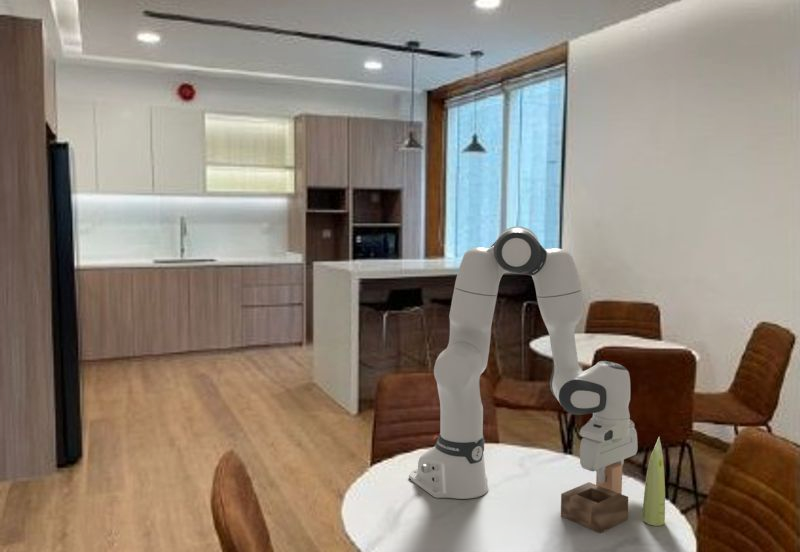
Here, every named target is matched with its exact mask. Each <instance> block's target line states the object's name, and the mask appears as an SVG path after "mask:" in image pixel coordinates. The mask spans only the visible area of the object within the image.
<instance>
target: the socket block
mask: <svg viewBox="0 0 800 552" xmlns="http://www.w3.org/2000/svg"><path fill="white" fill-rule="evenodd" d="M560 494H561V495H560V499H561V500H560V517H562V518H565V519H567V520H570V521H571V522H573V523H576V524H579V525H581V526H584V527H586V528H588V529H590V530H592V531H594V532H597V533H599V534H602V533H604V532H606V531H608V530H610V529H611V528H613V527H615V526H617V525H619V524H621V523H623V522H626V521H627V520H628V519H629V518H628V517H629V496H627V495H625V494H619V493H617V492H614V491H611V490H609V489H606V488H603V487H601V486H598V485H596V483H592V482H586V483H584V484H581V485H579V486H576V487H573V488H572V489H569V490H567V491H564V492H562V493H560Z"/></svg>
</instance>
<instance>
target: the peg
mask: <svg viewBox="0 0 800 552" xmlns="http://www.w3.org/2000/svg"><path fill="white" fill-rule="evenodd" d="M623 466H624V464H623V465H622V464H619V463H613V464H611V465H608V466H606V467H605V470H604V473H605V475H607V482H605V483H600V482H598V475H597V473H596V472H595V473H596V475H595V476H596V478H595V479H596V480H595V485H598V486H601V487H603V488H606V489H609V490H611V491H614V492H617V493H619V494H622V493H623V492H622V491H623V489H622V488H623ZM622 495H623V494H622Z"/></svg>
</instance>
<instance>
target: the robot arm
mask: <svg viewBox="0 0 800 552" xmlns="http://www.w3.org/2000/svg"><path fill="white" fill-rule="evenodd" d="M499 234H500V235H499V236H498V237H497V239H496V240H495V242H493V244H492V245H491V246H490V247H479V246H478V247H477V246H476V247H472V248H470V249H468V250H467V251H466V252H465V253H464V255H463V257H462V259H461V262H460V264H459V268H458V270H457V275H456V278H455V283H454V289H453V292H452V293H453V294H452V298H451V303H450V304H451V305H450V310H449V316H448V318H449V319H448V320H449V339H448V344H447V347H446V348H445V349H444V350H442V351H441V352H440V353H439V355H438V356H437V357H436V360H435V362H434V363H435V364H434V368H433V375H434V379H435V381H436V385H437V386H436V387H437V392H438V393H437V394H438V397H439V404H440V405H439V406H440V420H439V421H440V425H439V426H440V432H439V433H436V434H435V435H434V434H433V435H432V436H433V437H434V438H433V439H432V440H436V442H435V445H434V446H433V447H431V448H430V449H428V450H427V451H425V453H422V454H421V456H420V457H419V459H418V461H417V469H415V470H413V471H411V472H410V473H409V474H408V479H409V478H410V479H411V480H410V479H409V480H410V481H411V482H413V483H415V484H416V485H417V486H418V487H420V488H421V489H422V490H424V491H426V493H428V494H429V495H431V496H432V497H433V498H437V499H438V498H439V499H442V498H443V499H445V498H449V499H460V500H462V499H463V500H465V499H467V500H469V499H474V498H479V497H481V496H483V495H486V493H487V492H488V491H489V486H488V476H487V475H486V466H485V454H484V452H485V436H484V434H483V430H484V429H483V426H484V425H483V424H484V423H483V421H484V407H483V406H484V405H483V403H482V399H481V391H480V378H481V375H482V373H484V372H485V370H486V369H487V367H488V361H489V355H490V346H491V337H492V323H493V319H494V314H495V313H494V312H495V308H496V303H497V297H498V292H499V285H500V281H501V279H502V277H503V275H504V274H505V273H506V272H508V273H511V274H514V275H515V274H516V275H525V276H531V277H532V280H533V283H534V284H533V285H534V288H535V293H536V294H535V295H536V301H537V304H538V308H539V311H540V315H541V318H542V320H543V323H544V325H545V327H546V329H547V332H548V336H549V341H550V347H551V353H552V354H551V355H552V360H553V367H552V371H551V372H552V373H551V376H550V379H549V386H550V391H551V393H552V395H553V396H554V398H556V400H557V401H558V402H559V404H560V406H561V407H562V409H563V410H564V411H566V412H567V413H569V414H571V415H577V416H581V415H589V414H592V417H591V418H590V419H589V420H588V421H587V422H586V424H584V425H582V427H581V428H580V431H579V432H580V436H581V437H582V438H581V441H580V446H579V447H580V448H579V463H580V467H581V468H582V469H583V470H587V471H589V472H595V473H597V475H598V482H600V483H605V482H607V475H605V473H604V470H605V467H606V466H608V465H611V464H613V463H619V464H622V465H623V466H624V463H625V460H626V459H628V458H630V457H633V456H635V455H636V454H637V452H638V432H637V429H636V428H635V422H634V421H633V420H632V419H630V418H631V415H630V410H629V404H630V402H631V378H630V372H629V370H628V369H627V368H626V367H625V366H623V365H622V364H620V363H617V362H613V361H607V360H600V361H598V362H596V364H595V365H593V366H591V367H589V368H588V369H586V370H583V369H582V367H581V365H580V363H579V360H578V359H579V358H578V352H577V346H576V338H575V331H576V327H577V325H578V323H579V322H580V321H581V319H582V318H583V315H584V300H583V299H584V297H583V291H582V285H581V281H580V277H579V272H578V270H577V266H576V264H575V260H574V258H573V256H572V254H571V253H570V252H569V251H567V250H566V249H563V248H559V247H558V248H557V247H555V248H544V246H543V245H541V243H540V241H539V239H538V237H537V235H536V234H535V233H534V232H533V231H531V230H530V229H529V228H527V227H523V226H512V227H509V228H506V229H505V230H504V231H503V232H501V233H499Z"/></svg>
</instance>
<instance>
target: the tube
mask: <svg viewBox="0 0 800 552" xmlns="http://www.w3.org/2000/svg"><path fill="white" fill-rule="evenodd" d="M662 448H663V447H662V443H661V439H660V437H658V438H657V441H656V443H655V445H654V448H653V450H652V452H651V455H650V458H649V462H648V467H647V471H646V475H645V482H644V483H645V485H644V493H643V504H642V519H641V520H642V521H643V522H644V523H646V524H648V525H651V526H654V527H658V526H659V527H660V526H663V525H664V524H665V523H666V522H665V520H666V486H665V483H666V481H665V480H666V479H665V467H664V465H665V464H664V455H663V450H662Z"/></svg>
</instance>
